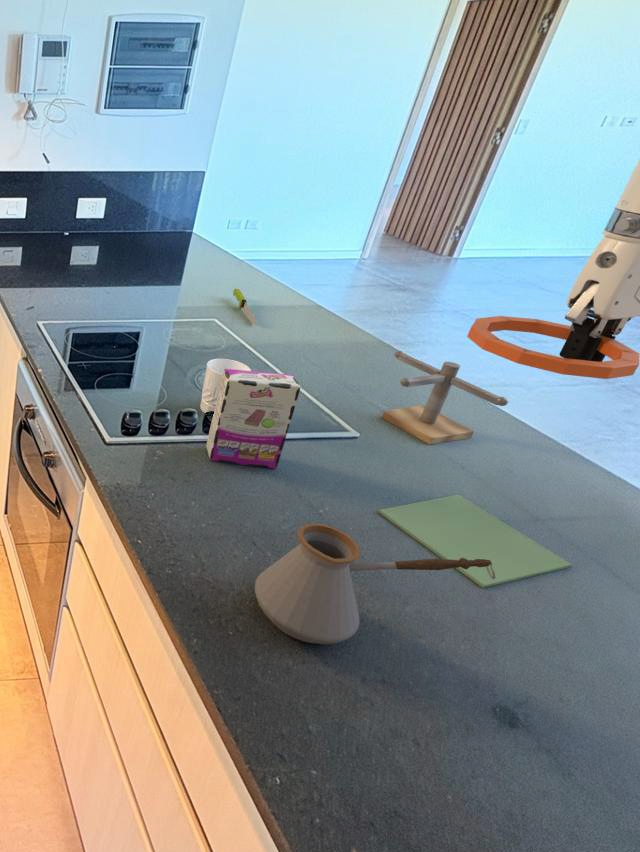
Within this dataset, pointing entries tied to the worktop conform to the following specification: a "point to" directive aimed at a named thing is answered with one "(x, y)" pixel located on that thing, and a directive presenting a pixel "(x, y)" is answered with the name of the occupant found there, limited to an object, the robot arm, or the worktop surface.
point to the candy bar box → (252, 417)
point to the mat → (474, 539)
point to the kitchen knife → (244, 305)
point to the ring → (619, 366)
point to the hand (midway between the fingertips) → (580, 358)
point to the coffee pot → (326, 584)
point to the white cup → (216, 380)
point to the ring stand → (435, 403)
